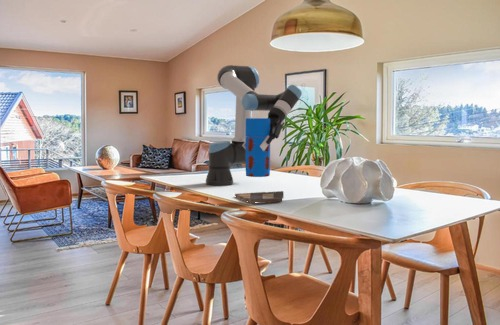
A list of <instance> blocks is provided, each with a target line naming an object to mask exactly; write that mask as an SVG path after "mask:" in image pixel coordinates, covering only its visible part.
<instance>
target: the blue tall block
mask: <svg viewBox="0 0 500 325" xmlns="http://www.w3.org/2000/svg"><path fill="white" fill-rule="evenodd" d="M269 134H270V118H268V117H267V118H261V117H260V118H258V117H256V118H255V117H253V118H252V117H251V118H246V136H248V137H246V164H245V176H246V177H249V178H266V177H270V175H271V174H270V173H271V143H270V144H269V145H268V146H267V148H266V149H265V150H264V151H263V150H262V149H261V148H260V145H261V144H262V143H263V141H264V140H265V138H266V137H267V136H268V135H269ZM269 136H270V135H269Z"/></svg>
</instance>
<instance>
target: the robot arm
mask: <svg viewBox="0 0 500 325" xmlns="http://www.w3.org/2000/svg"><path fill="white" fill-rule="evenodd" d="M216 78H217V82H218V84H219V85H220V86H221V87H222V88H223V89H224V90H227V91H229V92H230V93H232V94H233V95H234V96H235V115H234V117H235V120H234V137H233V138H232V139H231V141H230V140H221V141H214V142H211V143H210V144H209V145H208V172H207V176H206V178H205V185H210V186H231V185H233V184H234V178H233V176H232V175H233V174H232V172H231V165H238V164H239V165H242V164H243V165H246V137H248V136H246V118H252V112H253V111H254V112H255V111H259V112H260V111H261V112H262V111H263V112H264V111H266V112H267V111H268V113H267V118H270V134H269V135H270V136H269V135H268V136H267V137H266V138H265V140H264V141H263V143H262V144H261V145H260V148H261V149H262V150H263V151H264V150H265V149H266V148H267V146H268V145H269V144H270V145H271V142H272V141H273V140H275V139H279V137H280V134H281V132H282V129H283V127H284V125H285V123H286V122H284V120H285V119H286V117H287V116H288V114H290V112H291V111H292V110H293V108H294V106H296V104H297V103H298V101H299V100H300V99H301V97H302V96H303V92H302V90H301V89H300V87H298V86H297V85H295V84H290V85H288V86H287V87H286V88H285V90H284V91H282V92H280V93H278V94H260V93H259V94H258V93H257V91H255V89H256V88H258V87H259V84H260V75H259V72H258V70H257V68H255V67H254V66H247V65H233V64H230V65H229V64H228V65H225V66H223V67H222V68H220V70H219V71H218V73H217V77H216Z"/></svg>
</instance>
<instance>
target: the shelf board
mask: <svg viewBox="0 0 500 325" xmlns="http://www.w3.org/2000/svg"><path fill="white" fill-rule="evenodd" d="M235 196H236V197H238V198H240V199H239V200H241V199H243V200H245V201H248V202H250V203H255V202H268V203H277V202H276V201H282V202H283V199H284V191H283V190H281V191H280V190H279V191H260V192H259V191H258V192H257V191H256V192H242V193H241V192H240V193H235V194H234V197H235ZM236 197H235V198H236ZM238 198H237V199H238ZM243 200H242V201H243ZM245 201H244V202H245ZM248 202H247V203H248ZM250 203H249V204H250ZM255 204H256V203H255Z"/></svg>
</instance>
